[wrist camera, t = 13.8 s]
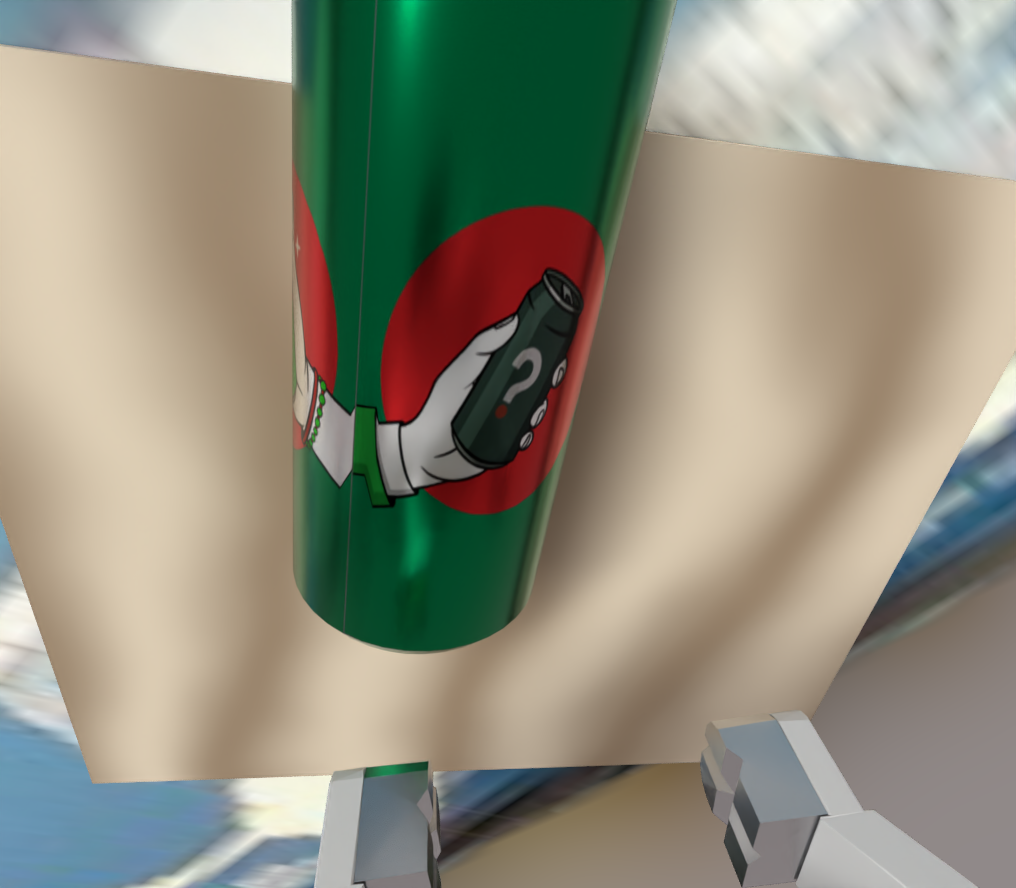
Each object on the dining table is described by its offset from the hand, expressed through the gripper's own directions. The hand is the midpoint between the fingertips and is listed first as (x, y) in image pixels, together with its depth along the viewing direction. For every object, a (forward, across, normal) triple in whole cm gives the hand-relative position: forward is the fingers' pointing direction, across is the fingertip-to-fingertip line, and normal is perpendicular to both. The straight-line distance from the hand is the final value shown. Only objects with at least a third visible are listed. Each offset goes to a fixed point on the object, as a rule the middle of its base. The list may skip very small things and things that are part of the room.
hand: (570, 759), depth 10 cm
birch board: (+8, 0, +1) cm, 8 cm away
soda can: (+4, +3, 0) cm, 5 cm away
